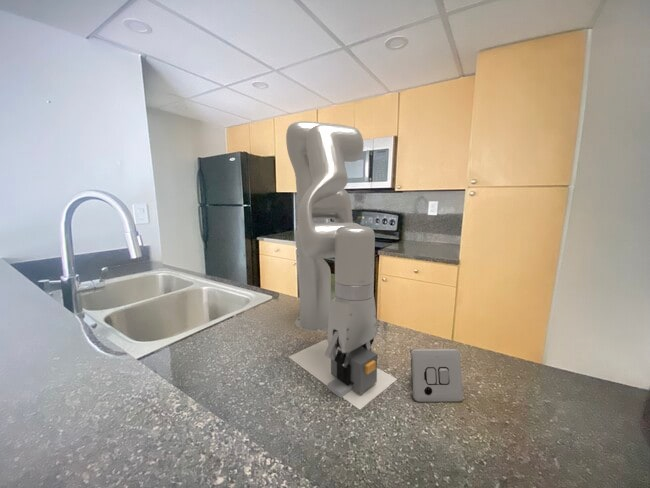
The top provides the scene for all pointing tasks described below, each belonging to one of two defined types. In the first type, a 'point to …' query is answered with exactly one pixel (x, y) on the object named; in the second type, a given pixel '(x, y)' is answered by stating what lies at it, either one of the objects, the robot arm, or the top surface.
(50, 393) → the top surface
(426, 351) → the electrical switch
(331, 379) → the plate
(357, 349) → the block
